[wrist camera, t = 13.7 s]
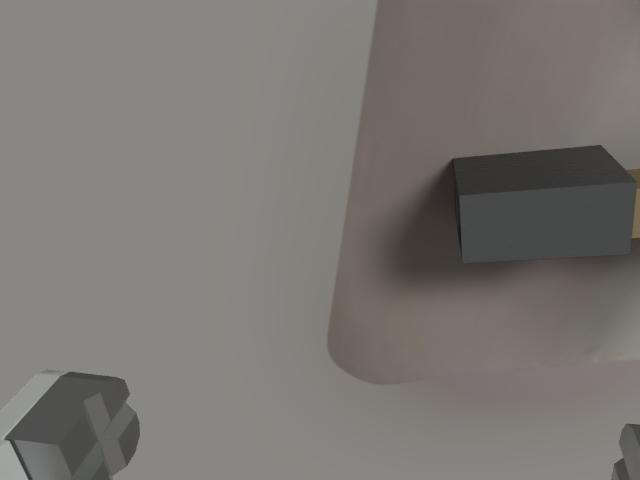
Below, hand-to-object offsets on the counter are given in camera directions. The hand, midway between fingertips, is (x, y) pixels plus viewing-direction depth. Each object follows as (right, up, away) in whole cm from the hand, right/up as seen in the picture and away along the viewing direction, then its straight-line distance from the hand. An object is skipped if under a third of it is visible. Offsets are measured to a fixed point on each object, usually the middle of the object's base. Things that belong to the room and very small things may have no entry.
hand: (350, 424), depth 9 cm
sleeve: (+16, +8, +36) cm, 40 cm away
